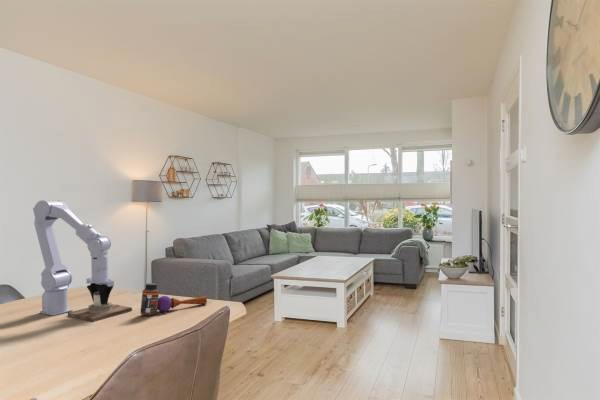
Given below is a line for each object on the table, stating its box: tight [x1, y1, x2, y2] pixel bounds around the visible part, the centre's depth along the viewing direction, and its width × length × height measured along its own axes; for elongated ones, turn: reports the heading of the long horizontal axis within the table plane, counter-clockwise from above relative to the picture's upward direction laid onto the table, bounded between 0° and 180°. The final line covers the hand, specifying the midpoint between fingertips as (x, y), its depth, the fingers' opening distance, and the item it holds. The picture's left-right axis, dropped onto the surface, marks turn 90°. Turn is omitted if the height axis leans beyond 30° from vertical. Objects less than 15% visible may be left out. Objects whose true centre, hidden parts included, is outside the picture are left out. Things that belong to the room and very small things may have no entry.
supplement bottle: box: [140, 282, 160, 316], centre depth 150 cm, size 6×6×11 cm
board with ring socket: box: [67, 301, 133, 322], centre depth 153 cm, size 16×16×3 cm
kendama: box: [157, 295, 208, 313], centre depth 158 cm, size 6×6×20 cm
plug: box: [93, 291, 107, 307], centre depth 153 cm, size 4×4×6 cm
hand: (100, 303), depth 153 cm, fingers closed on plug, 4 cm apart
